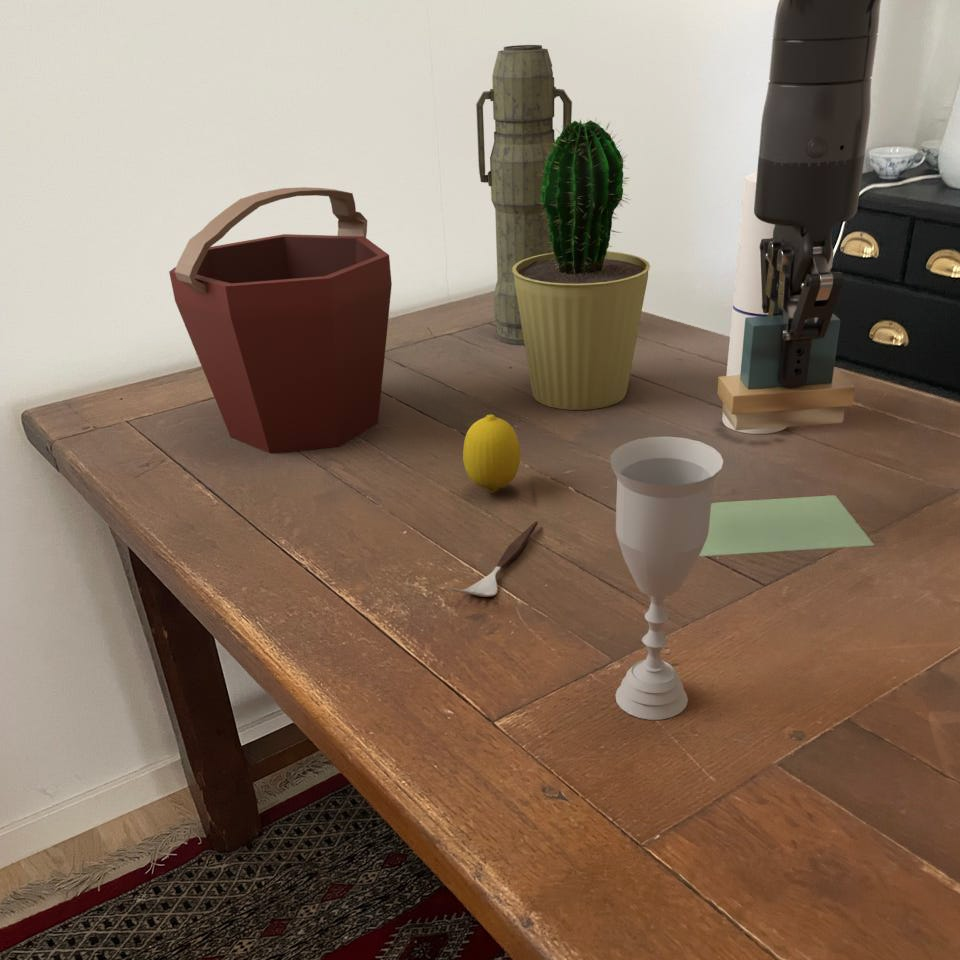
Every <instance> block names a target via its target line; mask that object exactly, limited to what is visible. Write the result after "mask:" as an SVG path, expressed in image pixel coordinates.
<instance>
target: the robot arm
mask: <svg viewBox="0 0 960 960" xmlns="http://www.w3.org/2000/svg"><path fill="white" fill-rule="evenodd" d="M881 3H882V0H778V3H777V7H776V12H775V16H774V21H773V22H774V23H773V31H772V41H771V49H770V50H771V53H770V63H769V73H768V74H769V75H768V80H769V81H768V83H767V90H766V96H765V100H764V105H763V108H762V109H763V110H762V116H761V122H760V123H761V124H760V134H759V135H760V136H759V145H758V148H759V149H758V157H757V169H756V173H757V180H756V191H755V203H754V214H755V216H756V217H757V218H758V219H759V220H761V221H763V222H766V223H769V224H774V225H775V227H774V230H773V238H769V239H762V240H761V243H760V257H761V283H762V309H763V313H768V316H775V315H783V324H782V333H781V335H782V339H783V340H782V343H781V352H780V361H779V371H778V382H779V383H780V385H781V386H783V387H791V386H802V385H804V384H805V383H806V381H807V374H808V366H809V358H810V350H811V342H812V340H814V339H818V338H824V337H825V334H826V331H827V328H828V326H829V323H830V320H831V317H832V314H834V311H835V309H836V305H837V302H838V300H839V297H840V294H841V292H842V289H843V286H844V283H845V282H844V281H845V278H844V274H843V272H842V271H837V272H836V271H834V272H831V270H832V268H833V264H834V263H833V262H834V248H833V245H832V244H833V243H832V238H833V237H832V235H833V234H832V230H833V228H834V227H835V226H836V225H838V224H840V223H845V222H848V221H849V220H851V219H852V218H853V217H855V215H856V214H857V211H858V205H859V200H860V199H859V198H860V191H861V186H862V185H861V184H862V177H863V171H864V162H865V155H866V148H867V141H868V134H869V126H870V122H871V121H870V120H871V100H872V99H871V98H872V95H871V93H872V92H871V91H872V77H873V72H874V64H875V56H876V50H877V42H878V36H879V35H878V33H879V25H880V13H881ZM777 284H778V285H777ZM805 320H807V323H805Z"/></svg>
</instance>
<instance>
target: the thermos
mask: <svg viewBox="0 0 960 960" xmlns="http://www.w3.org/2000/svg"><path fill="white" fill-rule="evenodd" d="M491 75H492V76H491V78H492V88H490V89H489V90H486V91H483V92H482V93H481V95H480V96H479V98H478V100H477V101H476V104H475V108H476V132H477V133H476V135H477V136H476V137H477V160H478V161H477V163H478V173H479V179H480V183H484V184H485V183H487V184H488V187H490V199H491V200H490V201H491V203H492V205H493V207H494V210H495V211H494V214H495V241H496V242H495V244H496V246H495V247H496V271H497V272H496V274H497V280H496V283H495V289H494V293H493V307H494V308H493V309H494V310H493V311H494V319H495V322H496V331H495V332H496V333H495V335H496V339H497V340H499V341H500V342H502V343H506V344H509V345H518V346H525V344H524V337H523V331H522V325H521V319H520V313H519V306H518V300H517V294H516V288H515V281H514V273H513V272H512V267H513V266H514V265H515V264H516V263H518V262H519V261H522V260H524V259H527V258H530V257H533V256H537V255H542V254H548V253H552V252H553V248H552V245H550V244H551V243H545V242H550V235H548V236H547V234H548V233H549V231H548V230H549V228H548V216H547V214H546V212H545V210H544V208H543V207H542V206H543V205H542V204H535V203H540V202H541V199H539V198H541V187H542V185H543V184H542V178H543V176H542V175H541V174H543V173H544V172H543V171H544V168H545V162H546V160H547V158H548V156H549V153H550V154H551V153H552V150H553V145H552V143H554V142H556V141H554V140H555V128H554V118H555V99H556V98H558V97H559V99H560V100H561V102H562V111H563V112H562V128H565V127H566V125H568V124H570V123H572V117H573V116H572V115H573V114H572V113H573V101H572V100H571V98H570V97H569V96H568V93H566V91H565V89H564V88H563V89H562V88H561V89H560V88H557V87H556V86H555V77H554V72H553V63H552V59H551V56H550V53H549V49H548V48H543V45H542V44H518V45H508V46H503V49H502V50H499V51H497V54H496V58H495V62H494V66H493V70H492V74H491ZM486 100H490V102H492V111H493V112H492V114H493V120H494V123H495V130H494V132H493V145H492V148H491V153H490V156H489V168H490V170H489V171H488V172H487V174H486V160H485V159H486V156H485V155H486V153H485V152H486V151H485V150H486V149H485V125H484V124H485V123H484V105H485V102H486ZM566 119H568V120H567V122H566ZM568 121H569V122H568ZM553 137H554V138H553ZM553 139H554V140H553ZM547 141H548V142H547ZM551 142H552V143H551ZM550 143H551V144H550ZM545 145H546V146H547V147H545ZM548 146H549V147H550V149H549V148H548ZM551 147H552V149H551ZM547 151H548V152H549V153H548V152H547ZM544 157H545V158H546V159H544ZM544 161H545V162H544ZM536 172H537V173H536ZM539 173H541V174H539ZM536 174H538V175H536ZM539 175H541V176H539ZM538 186H540V187H538ZM537 205H538V206H537ZM539 207H541V208H539ZM537 208H538V209H537ZM543 210H544V211H543ZM542 211H543V212H542ZM543 213H544V214H545V215H544V214H543ZM541 214H543V215H541ZM540 215H541V216H540ZM539 216H540V217H539ZM543 217H544V218H543ZM542 218H543V219H542ZM541 219H542V220H541ZM540 220H541V221H540ZM546 220H547V221H546ZM545 225H546V226H545ZM549 234H550V233H549ZM545 236H546V237H545ZM550 247H551V248H550ZM549 248H550V249H549ZM547 249H548V250H547ZM546 250H547V251H546ZM553 253H554V252H553Z"/></svg>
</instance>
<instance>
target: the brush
mask: <svg viewBox="0 0 960 960" xmlns="http://www.w3.org/2000/svg"><path fill="white" fill-rule="evenodd" d="M805 323H807V320H805ZM782 324H783V315H775V316H761V317H747V318H745V328H744V339H743V351H742V362H741V374H740V375H733V376H726V375H721V376H718V380H717V393H716V394H717V396H718V397H719V399H720V400H721V401H722V414H723V413H724V414H725V416H726V417H727V419H728V420H729V422H730V423H731V424H732V426H733V427H734V429H735V430H748V429H762V428H775V427H786V428H787V427H788V428H789V427H800V426H801V427H802V426H814V425H828V424H841V423H844V418H845V411H846V407H852V406H853V405H854V399H855V391H856V386H855V385H854V384H853V383H852V382H850V380H848V379H847V378H846V377H845V376H844V375H843V374H842V373H841V372H840V371H839V370H838V369H837V368H835V365H836V355H837V348H838V342H839V334H840V329H841V319H840V318H839V317H838V316H837V315H836V314H835V313H833V314H832V317H831V320H830V323H829V326H828V328H827V331H826V334H825V337H824V338H818V339H814V340H812V342H811V350H810V358H809V366H808V374H807V381H806V383H805V384H804V385H802V386H791V387H783V386H781V385H780V383H779V382H778V371H779V361H780V352H781V343H782V340H783V339H782V335H781V333H782ZM735 430H734V431H735Z"/></svg>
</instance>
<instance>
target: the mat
mask: <svg viewBox="0 0 960 960" xmlns="http://www.w3.org/2000/svg"><path fill="white" fill-rule="evenodd" d="M874 546H875V543H874V542H873V541H872V540H871V539H870V537H869V536H868V535H867V533H866V532H865V531H864V529H863V528H862V527H861V526H860V525H859V523H858V522H857V521H856V520H855V518H854V517H853V516H852V515H851V513H850V511H848V509H847V508H846V507H845V506H844V504H842V502H841V501H840V499H839V498H838V497H837V495H835V494H833V495H832V494H831V495H818V496H800V497H784V498H767V499H753V500H737V501H721V502H711V512H710V523H709V533H708V536H707V540H706V542H705V544H704V546H703V548H702V551H701V553H700V555H699V557H715V556H728V555H729V556H733V555H747V554H763V553H764V554H765V553H779V552H795V551H796V552H797V551H809V550H810V551H811V550H826V549H842V548H857V547H859V548H860V547H874ZM699 557H698V558H699Z"/></svg>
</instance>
